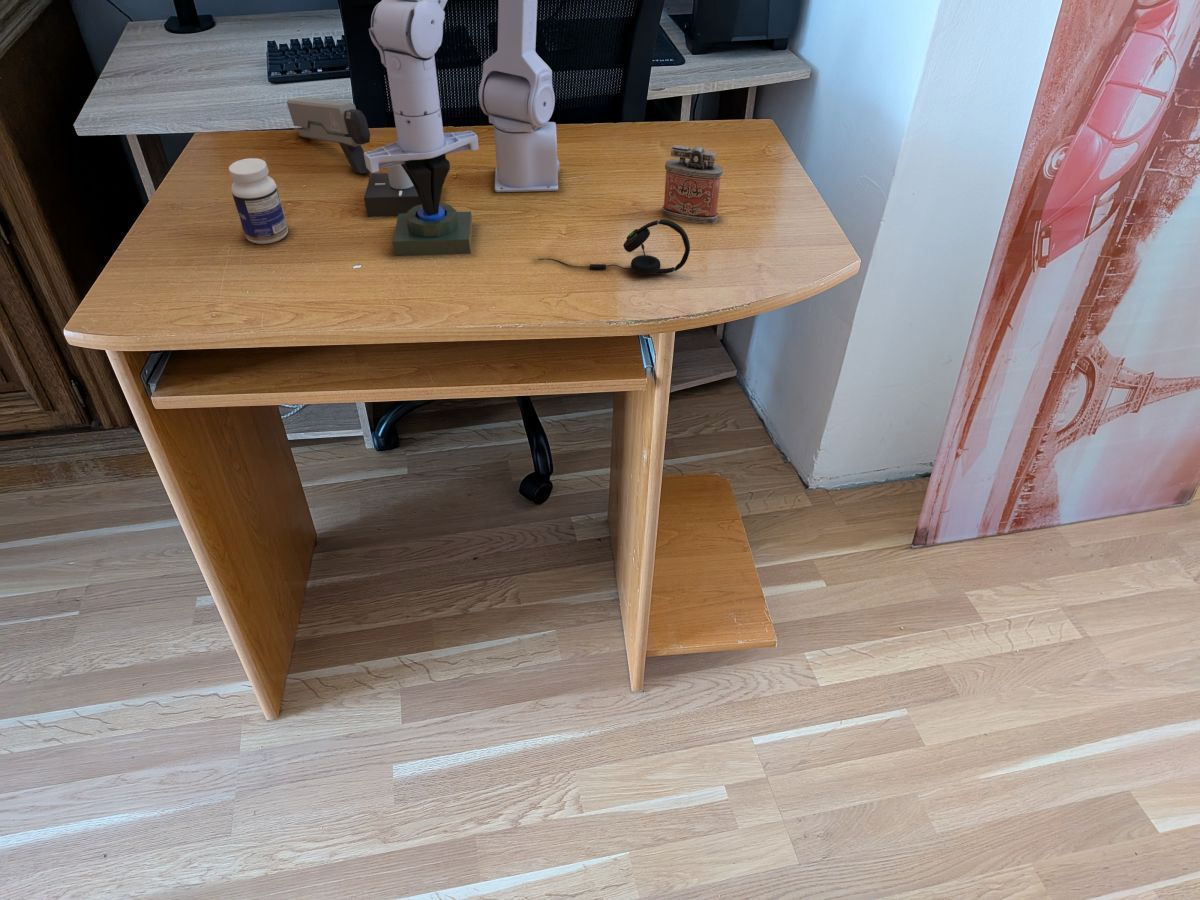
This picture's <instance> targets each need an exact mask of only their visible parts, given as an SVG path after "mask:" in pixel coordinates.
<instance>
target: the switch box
mask: <svg viewBox="0 0 1200 900" xmlns="http://www.w3.org/2000/svg"><path fill="white" fill-rule="evenodd" d="M439 206H440V207H442V208H443V209H444V210H445V217H444V218H442V219H439V220H436V221H424V220H419V219H418V214H417V212H418V210H419V209H420V208H422V204H421V205H418V206H414V207H413V208H412V209H410V210H409V211H407V213H402V214H398V216H397V219H396V223H395V228H394V233H393V237H392V247H393V253H394V257H407V256H410V257H411V256H441V255H444V256H445V255H471V253H472V239H473V229H474V228H473V227H474V224H473V216H472V211H457V210H456V209H455V208H454V207H453V206H452V205H450V204H446V203H443V202H440V203H439Z"/></svg>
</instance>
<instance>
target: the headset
mask: <svg viewBox="0 0 1200 900" xmlns="http://www.w3.org/2000/svg"><path fill="white" fill-rule="evenodd" d="M658 225H662V226H667V227H669V228H671V229H672V230H674V231H675V232H677V233H678V234H679V236H680V237H681V239H682V242H683V245H684V253H683V255H682V257H681V260H680V261H679V262H678V264H676V266H675V267H674V266H671V267H667V268H661V267H662V264H661V260H660V259H659V258H658V257H655V256H653V255H647V254H646V253H645V244H644V243H645V242H646V241H647V240H648V238H649V237H650V235H651V231H650V229H649V228H651V227H654V226H658ZM622 247H623V249H624V250H625V252H627V253H632V252H633V251H635V250H637V249H638V248H639V247H641V250H642V252H643V255H637V256H635V257H633V258H632V260H631V262H630V268H627V267H622V266H620V265H617V264H608V265H606V263H603V264H602V263H601V264H599V263H598V264H597V263H591V264H589V265H586V266H585V265H582V266H578V265H572V264H568V263H565V262H562V261H560V260H557V259H555V258H547V260H548V261H549V260H550V261H555V262H557V263H561V264H563V265H566V266H569V267H573V268H589V269H591V270H606V269H607V267H612V266H615V267H618V268H621V269H622V270H623V269H624V270H631V271H632V272H633V273H635V274H637V275H640V276H641V275H642V276H651V275H652V276H653V275H655V274H656V275H657V274H658V275H660V274H661V275H662V274H663V275H664V274H669V273H674V272H676V271H678V270H680V269H681V268H683V266H684V265H685V264H686V263H687V261H688V259H689V256H690V252H691V243H690V239H689V236H688V234H687V232H686V231H685V229H683V227H682V226H680V225H679V224H678V223H676V222H675V221H672V220H669V219H657V220H653V221H651V222H648V223H646V224H644V225H643V226H641V227H640V228H636V229H634V230H632V232H630V233H629V234H627V236H626V240H625V241H624V243H623V245H622ZM537 260H538V261H542V260H544V258H538V259H537Z"/></svg>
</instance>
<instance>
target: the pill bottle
mask: <svg viewBox="0 0 1200 900" xmlns="http://www.w3.org/2000/svg"><path fill="white" fill-rule="evenodd" d="M269 171H270V170H269V167H268V165H267V162H266V161H265V160H264V159H261V158H257V157H256V158H255V157H249V158H243V159H239V160H236V161H234V162H232V163H231V164H230V165H229V166H228V172H229V175H230V178H231V179H232V180H233V182H232V184H231V186H230V187H231V188H230V192H231V194H232V198H233V201H234V204H235V207H236V211H237V213H238V218H239V221H240V224H241V227H242V230H243V234H244V237H245V238H246V240H247V241H249V242H251V243H253V244H256V245H257V244H258V245H268V244H273V243H276V242H279V241H281V240H283V239H284V238H285V237H286V236H287V235H288V233H289V227H288V222H287V219H286V215H285V212H284V208H283V204H282V202H281V197H280V193H279V191H278V186H277V183H276V181H275V180H274V179H273V178H272V177H271V176H269V175H268V174H269V173H270V172H269Z"/></svg>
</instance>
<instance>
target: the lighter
mask: <svg viewBox="0 0 1200 900" xmlns="http://www.w3.org/2000/svg"><path fill="white" fill-rule="evenodd" d="M716 154H717V152H715V151H711V150H705V149H704V147H703V146H701V145H697V146H695V147H694V148H691V147H690V146H686V145H685V146H684V145H679V144H673V145H672V147H671V149H670V156H671V157H674V158H669V159H668V160H666V161H665V165H664V169H665V181H664V183H665V184H664V198H663V199H664V200H663V206H662V210H661V214H662V216H663V217H666V218H670V219H674V220H677V221H683V222H688V223H697V224H705V225H706V224H707V225H708V224H709V225H711V224H715V223H717V221H718V216H719V215H718V213H719V212H718V205H719V196H720V186H721V177H722V176H723V167H722V166H720V165H717V164H715V162H716Z"/></svg>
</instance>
